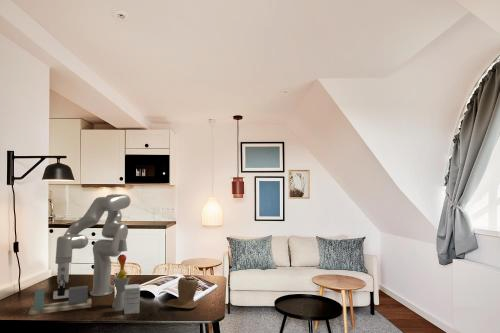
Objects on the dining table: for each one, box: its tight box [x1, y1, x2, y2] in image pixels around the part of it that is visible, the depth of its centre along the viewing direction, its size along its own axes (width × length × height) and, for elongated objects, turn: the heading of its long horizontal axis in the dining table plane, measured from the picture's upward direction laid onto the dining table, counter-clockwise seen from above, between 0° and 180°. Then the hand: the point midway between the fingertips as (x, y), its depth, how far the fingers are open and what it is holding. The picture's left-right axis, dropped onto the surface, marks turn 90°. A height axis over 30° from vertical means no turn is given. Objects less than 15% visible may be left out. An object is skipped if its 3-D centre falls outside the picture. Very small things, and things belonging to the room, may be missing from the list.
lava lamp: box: [111, 238, 131, 309], centre depth 182 cm, size 9×9×35 cm
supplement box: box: [123, 283, 141, 315], centre depth 173 cm, size 7×7×13 cm
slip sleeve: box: [67, 285, 89, 306], centre depth 180 cm, size 9×5×8 cm, turn 116°
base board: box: [28, 298, 93, 316], centre depth 177 cm, size 28×10×2 cm, turn 116°
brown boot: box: [165, 276, 199, 310], centre depth 181 cm, size 15×12×15 cm
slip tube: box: [52, 289, 69, 300], centre depth 179 cm, size 16×3×3 cm, turn 116°
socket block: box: [33, 288, 46, 310], centre depth 173 cm, size 4×7×8 cm, turn 26°
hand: (61, 293), depth 177 cm, fingers open, 9 cm apart
